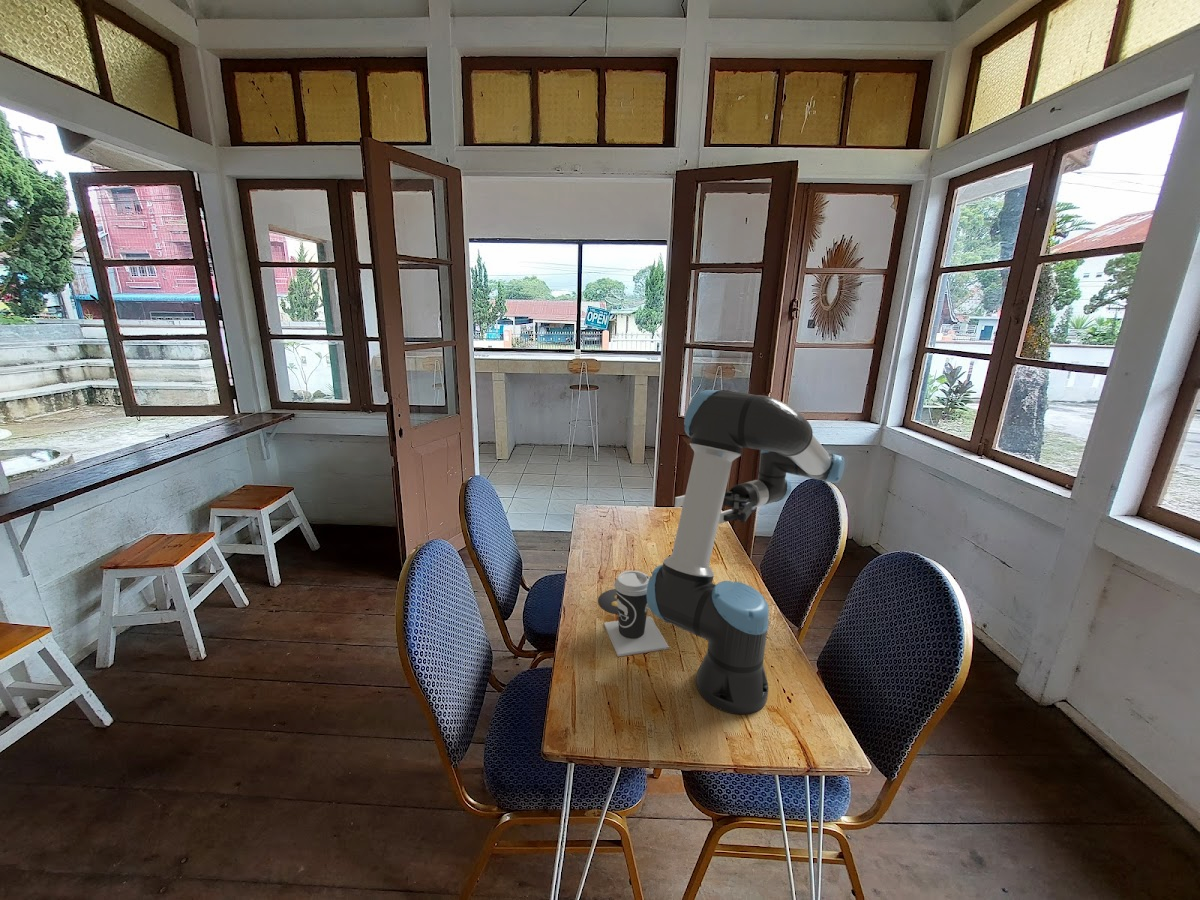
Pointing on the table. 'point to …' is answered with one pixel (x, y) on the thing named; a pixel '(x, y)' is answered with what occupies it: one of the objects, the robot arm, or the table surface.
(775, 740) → the table surface
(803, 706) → the table surface
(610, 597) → the coaster
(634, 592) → the coffee cup
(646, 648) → the plate
